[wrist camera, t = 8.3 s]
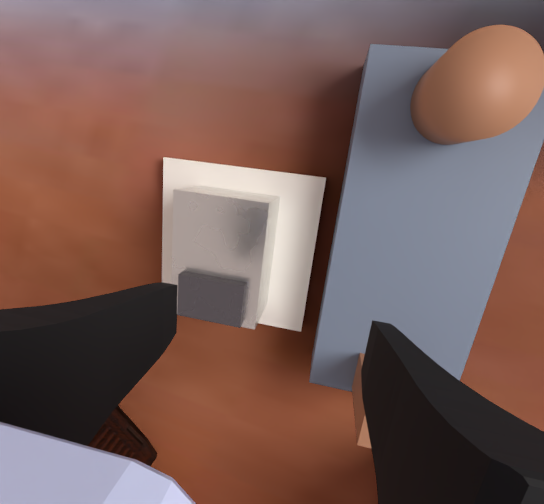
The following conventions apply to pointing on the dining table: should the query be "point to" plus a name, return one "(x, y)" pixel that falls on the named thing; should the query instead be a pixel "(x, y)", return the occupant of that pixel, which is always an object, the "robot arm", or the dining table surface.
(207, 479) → the dining table surface
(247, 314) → the lever cap
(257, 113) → the dining table surface
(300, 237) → the tile
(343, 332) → the plane body
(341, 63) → the dining table surface
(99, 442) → the manual coffee grinder
